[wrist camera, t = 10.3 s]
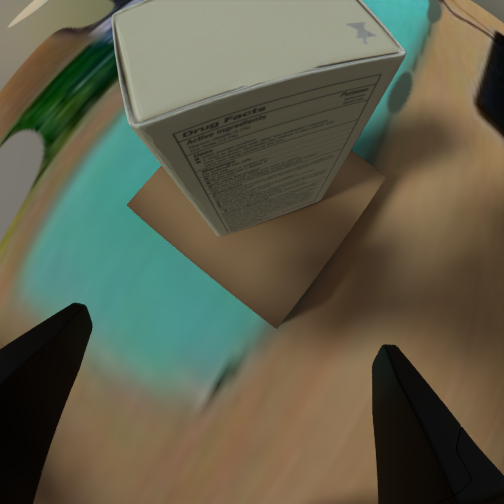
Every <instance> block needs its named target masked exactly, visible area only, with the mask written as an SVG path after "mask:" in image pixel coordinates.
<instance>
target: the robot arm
mask: <svg viewBox="0 0 504 504" xmlns="http://www.w3.org/2000/svg"><path fill="white" fill-rule="evenodd" d="M91 332H92V321H91V318H90V315H89V312H88V309H87V307H86V305H84V304H80V303H72V304H71V305H69V306H67V307H66V308H64V309H63V310H61V311H59V312H58V313H56V314H55V315H53V316H51V317H50V318H48V319H47V320H45V321H43V322H42V323H40V324H39V325H37V326H35V327H34V328H32V329H31V330H29V331H28V332H26V333H24V334H23V335H21V336H20V337H18V338H17V339H15V340H14V341H12V342H11V343H9V344H8V345H6V346H4V347H3V348H1V349H0V504H33V502H34V498H35V494H36V491H37V487H38V484H39V480H40V477H41V474H42V470H43V467H44V463H45V460H46V457H47V454H48V451H49V448H50V445H51V442H52V439H53V436H54V433H55V431H56V428H57V425H58V422H59V420H60V417H61V414H62V412H63V409H64V406H65V404H66V401H67V399H68V396H69V394H70V391H71V389H72V386H73V384H74V381H75V379H76V376H77V374H78V371H79V369H80V366H81V363H82V360H83V356H84V353H85V350H86V347H87V344H88V341H89V338H90V335H91ZM372 414H373V426H374V436H375V448H376V462H377V480H378V504H504V475H503V474H502V473H501V472H500V471H499V470H498V468H497V467H496V466H495V465H494V464H493V463H492V462H491V461H490V460H489V459H488V458H487V456H486V455H485V454H484V453H483V452H482V451H481V450H480V449H479V447H478V446H477V445H476V444H475V443H474V441H473V440H472V439H471V438H470V436H469V435H468V434H467V432H466V431H465V430H464V428H463V427H461V425H460V423H459V422H458V421H457V420H456V418H455V417H454V416H453V414H452V413H451V412H450V411H449V409H448V408H447V407H446V406H445V404H444V403H443V402H442V401H441V399H440V398H439V397H438V395H437V394H436V393H435V392H434V391H433V389H432V388H431V387H430V386H429V384H428V383H427V382H426V381H425V379H424V378H423V377H422V376H421V375H420V373H419V372H418V371H417V370H416V368H415V367H414V366H413V365H412V364H411V362H410V361H409V360H408V359H407V358H406V356H405V355H404V354H403V353H402V352H401V350H400V349H399V348H398V347H397V346H396V345H387V344H385V345H382V346H381V348H380V350H379V352H378V354H377V356H376V358H375V359H374V362H373V365H372Z"/></svg>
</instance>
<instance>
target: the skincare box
mask: <svg viewBox="0 0 504 504" xmlns="http://www.w3.org/2000/svg"><path fill="white" fill-rule="evenodd" d="M112 28H113V39H114V47H115V54H116V61H117V68H118V74H119V81H120V86H121V91H122V96H123V101H124V105H125V110H126V114H127V119H128V123H129V124H130V126H131V127H132V129H133V130H134V131H135V133H136V134H137V135H138V136H139V137H140V139H141V140H142V141H143V142H144V144H145V145H146V146H147V147H148V149H149V150H150V151H151V152H152V153H153V155H154V156H155V157H156V159H157V160H158V161H159V163H160V164H161V165H162V166H163V168H164V169H165V170H166V171H167V173H168V174H169V175H170V177H171V178H172V179H173V180H174V182H175V183H176V184H177V186H178V187H179V188H180V190H181V191H182V192H183V193H184V195H185V196H186V197H187V198H188V199H189V201H190V202H191V203H192V205H193V206H194V207H195V208H196V210H197V211H198V212H199V213H200V215H201V216H202V217H203V219H204V220H205V221H206V222H207V224H208V225H209V226H210V227H211V229H212V230H213V231H214V232H215V234H216V235H217V236H224V235H227V234H230V233H233V232H236V231H239V230H242V229H245V228H248V227H250V226H253V225H256V224H259V223H262V222H265V221H267V220H270V219H273V218H275V217H278V216H281V215H284V214H287V213H289V212H292V211H295V210H298V209H300V208H303V207H305V206H308V205H311V204H313V203H316V202H318V201H320V200H321V199H322V197H323V196H324V194H325V193H326V191H327V189H328V188H329V186H330V184H331V183H332V181H333V179H334V178H335V176H336V174H337V173H338V171H339V169H340V168H341V166H342V165H343V163H344V161H345V159H346V158H347V156H348V154H349V153H350V151H351V149H352V148H353V146H354V144H355V143H356V141H357V139H358V138H359V136H360V134H361V133H362V131H363V129H364V127H365V126H366V124H367V122H368V120H369V119H370V117H371V115H372V114H373V112H374V110H375V108H376V106H377V105H378V103H379V102H380V100H381V98H382V96H383V95H384V93H385V91H386V89H387V88H388V86H389V84H390V83H391V81H392V79H393V77H394V76H395V74H396V72H397V70H398V69H399V67H400V65H401V63H402V61H403V60H404V58H405V55H406V51H405V50H404V49H403V48H402V47H401V45H400V44H399V43H398V42H397V41H396V40H395V38H394V37H393V35H392V34H391V33H390V32H389V30H388V29H387V28H386V27H385V25H384V24H383V23H382V22H381V21H380V20H379V19H378V17H377V16H376V15H375V14H374V13H373V12H372V11H371V9H370V8H369V7H368V6H367V5H366V4H365V3H364V2H363V1H362V0H144V1H141V2H138V3H136V4H134V5H132V6H129V7H127V8H125V9H122V10H119V11H118V12H116V13H114V14H113V15H112Z"/></svg>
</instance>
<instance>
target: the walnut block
mask: <svg viewBox="0 0 504 504" xmlns="http://www.w3.org/2000/svg"><path fill="white" fill-rule="evenodd" d="M385 178H386V176H385V175H384V174H383V173H381V172H380V171H379V170H377V169H376V168H375V167H373V166H372V165H371V164H369V163H368V162H367V161H365V160H364V159H362V158H361V157H360V156H358V155H357V154H355V153H354V152H353V151H350V153H349V154H348V156H347V158H346V159H345V161H344V163H343V165H342V166H341V168H340V169H339V171H338V173H337V174H336V176H335V178H334V179H333V181H332V183H331V184H330V186H329V188H328V189H327V191H326V193H325V194H324V196H323V197H322V199H321V200H320V201H318V202H316V203H313V204H311V205H308V206H305V207H303V208H300V209H298V210H295V211H292V212H289V213H287V214H284V215H281V216H278V217H275V218H273V219H270V220H267V221H265V222H262V223H259V224H256V225H253V226H250V227H248V228H245V229H242V230H239V231H236V232H233V233H230V234H227V235H224V236H217V235H216V234H215V232H214V231H213V230H212V229H211V227H210V226H209V225H208V224H207V222H206V221H205V220H204V219H203V217H202V216H201V215H200V213H199V212H198V211H197V210H196V208H195V207H194V206H193V205H192V203H191V202H190V201H189V199H188V198H187V197H186V196H185V195H184V193H183V192H182V191H181V190H180V188H179V187H178V186H177V184H176V183H175V182H174V180H173V179H172V178H171V177H170V175H169V174H168V173H167V171H166V170H165V169H164V168H163V166H161V167H160V168H159V169H158V170H157V171H156V172H155V173H154V174H153V175H152V177H151V178H150V179H149V180H148V181H147V182H146V183H145V184H144V186H143V187H142V188H141V189H140V190H139V191H138V192H137V194H136V195H135V196H134V197H133V198H132V199H131V200H130V202H129V203H128V204H127V206H128V207H129V208H130V209H131V210H133V211H134V212H135V213H136V214H137V215H138V216H139V217H140V218H141V219H142V220H143V221H145V222H146V223H147V224H148V225H149V226H150V227H152V228H153V229H154V230H155V231H156V232H157V233H159V234H160V235H161V236H162V237H163V238H164V239H166V240H167V241H168V242H169V243H170V244H171V245H173V246H174V247H175V248H176V249H177V250H179V251H180V252H181V253H182V254H183V255H185V256H186V257H187V258H188V259H189V260H191V261H192V262H193V263H194V264H195V265H197V266H198V267H199V268H200V269H201V270H203V271H204V272H205V273H206V274H208V275H209V276H210V277H211V278H212V279H214V280H215V281H216V282H217V283H219V284H220V285H221V286H222V287H224V288H225V289H226V290H227V291H229V292H230V293H231V294H232V295H234V296H235V297H236V298H237V299H239V300H240V301H241V302H242V303H244V304H245V305H246V306H247V307H249V308H250V309H251V310H252V311H254V312H255V313H256V314H258V315H259V316H260V317H261V318H263V319H264V320H265V321H266V322H268V323H269V324H270V325H272V326H273V327H274V328H278V327H279V325H280V324H281V323H282V321H283V320H284V319H285V318H286V316H287V315H288V314H289V312H290V311H291V310H292V309H293V307H294V306H295V305H296V303H297V302H298V301H299V300H300V298H301V297H302V296H303V294H304V293H305V292H306V290H307V289H308V288H309V286H310V285H311V284H312V282H313V281H314V280H315V278H316V277H317V276H318V274H319V273H320V272H321V270H322V269H323V268H324V266H325V265H326V263H327V262H328V261H329V259H330V258H331V257H332V255H333V254H334V252H335V251H336V250H337V248H338V247H339V245H340V244H341V243H342V241H343V240H344V238H345V237H346V236H347V234H348V233H349V231H350V230H351V229H352V227H353V226H354V224H355V223H356V221H357V220H358V218H359V217H360V216H361V214H362V213H363V211H364V210H365V208H366V207H367V205H368V204H369V202H370V201H371V199H372V198H373V196H374V195H375V193H376V192H377V190H378V189H379V187H380V186H381V184H382V183H383V181H384V180H385Z"/></svg>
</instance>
